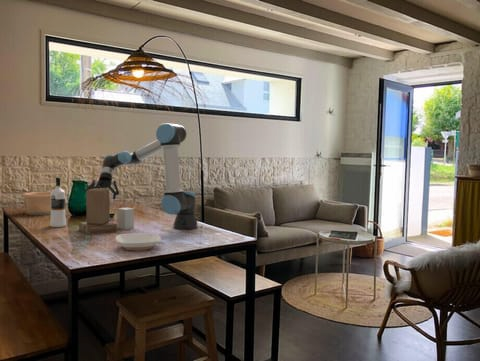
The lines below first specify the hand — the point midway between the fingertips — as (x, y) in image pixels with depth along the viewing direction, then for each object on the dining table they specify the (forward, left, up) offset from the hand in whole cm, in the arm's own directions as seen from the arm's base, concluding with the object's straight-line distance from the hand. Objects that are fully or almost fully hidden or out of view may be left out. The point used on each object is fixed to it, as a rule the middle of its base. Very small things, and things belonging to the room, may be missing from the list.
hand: (99, 202), depth 247 cm
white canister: (-4, -15, -16) cm, 22 cm away
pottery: (+77, +10, -16) cm, 80 cm away
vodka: (+24, +16, -16) cm, 33 cm away
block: (-3, +2, -12) cm, 12 cm away
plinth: (-2, +2, -17) cm, 17 cm away
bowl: (-53, +3, -16) cm, 55 cm away
